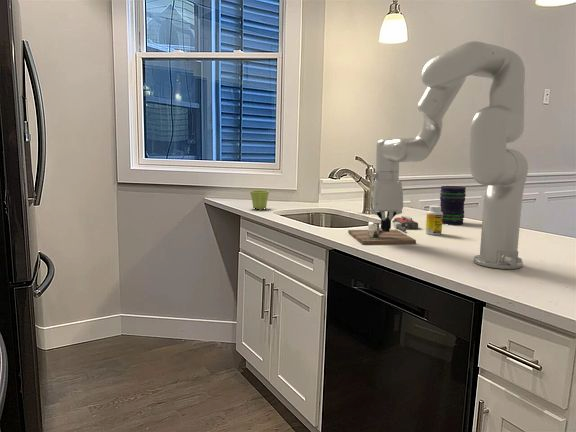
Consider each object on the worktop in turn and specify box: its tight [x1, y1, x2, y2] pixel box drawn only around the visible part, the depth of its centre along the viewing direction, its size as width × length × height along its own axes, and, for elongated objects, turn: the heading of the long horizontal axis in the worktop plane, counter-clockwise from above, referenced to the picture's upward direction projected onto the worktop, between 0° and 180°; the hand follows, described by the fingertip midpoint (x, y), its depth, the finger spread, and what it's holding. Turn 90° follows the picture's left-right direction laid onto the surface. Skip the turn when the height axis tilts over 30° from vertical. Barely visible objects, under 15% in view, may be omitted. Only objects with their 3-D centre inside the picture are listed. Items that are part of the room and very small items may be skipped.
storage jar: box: [439, 185, 467, 226], centre depth 201 cm, size 10×10×15 cm
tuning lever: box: [367, 221, 382, 237], centre depth 169 cm, size 14×4×4 cm, turn 158°
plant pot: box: [249, 189, 271, 210], centre depth 234 cm, size 9×9×9 cm
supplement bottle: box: [425, 205, 443, 236], centre depth 178 cm, size 6×6×10 cm
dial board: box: [347, 229, 417, 246], centre depth 169 cm, size 19×18×1 cm
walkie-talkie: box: [392, 215, 419, 232], centre depth 190 cm, size 9×4×20 cm
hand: (385, 231), depth 166 cm, fingers closed
